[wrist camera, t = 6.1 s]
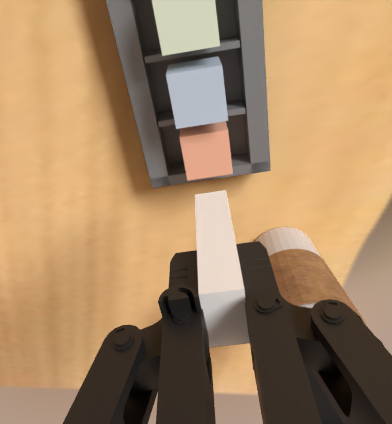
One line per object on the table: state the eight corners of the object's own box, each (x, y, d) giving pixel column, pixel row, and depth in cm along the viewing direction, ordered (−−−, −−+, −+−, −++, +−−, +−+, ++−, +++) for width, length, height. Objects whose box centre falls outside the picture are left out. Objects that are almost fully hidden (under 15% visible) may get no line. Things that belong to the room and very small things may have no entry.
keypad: (86, -114, 20) (74, -125, 18) (246, -146, 20) (254, -162, 18) (154, 173, 30) (152, 188, 28) (264, 157, 29) (270, 170, 27)
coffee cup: (256, 295, 37) (292, 455, 25) (221, 237, 33) (242, 392, 21) (336, 265, 35) (419, 422, 23) (308, 199, 31) (391, 345, 19)
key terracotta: (180, 122, 26) (179, 137, 24) (224, 115, 26) (228, 129, 23) (187, 162, 28) (187, 180, 25) (228, 156, 28) (232, 174, 25)
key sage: (154, -13, 21) (149, -12, 18) (209, -23, 21) (212, -24, 18) (165, 47, 22) (162, 55, 20) (216, 39, 22) (220, 46, 20)
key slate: (168, 64, 23) (165, 74, 20) (218, 56, 23) (222, 65, 20) (177, 114, 25) (176, 128, 22) (224, 106, 24) (228, 120, 22)
